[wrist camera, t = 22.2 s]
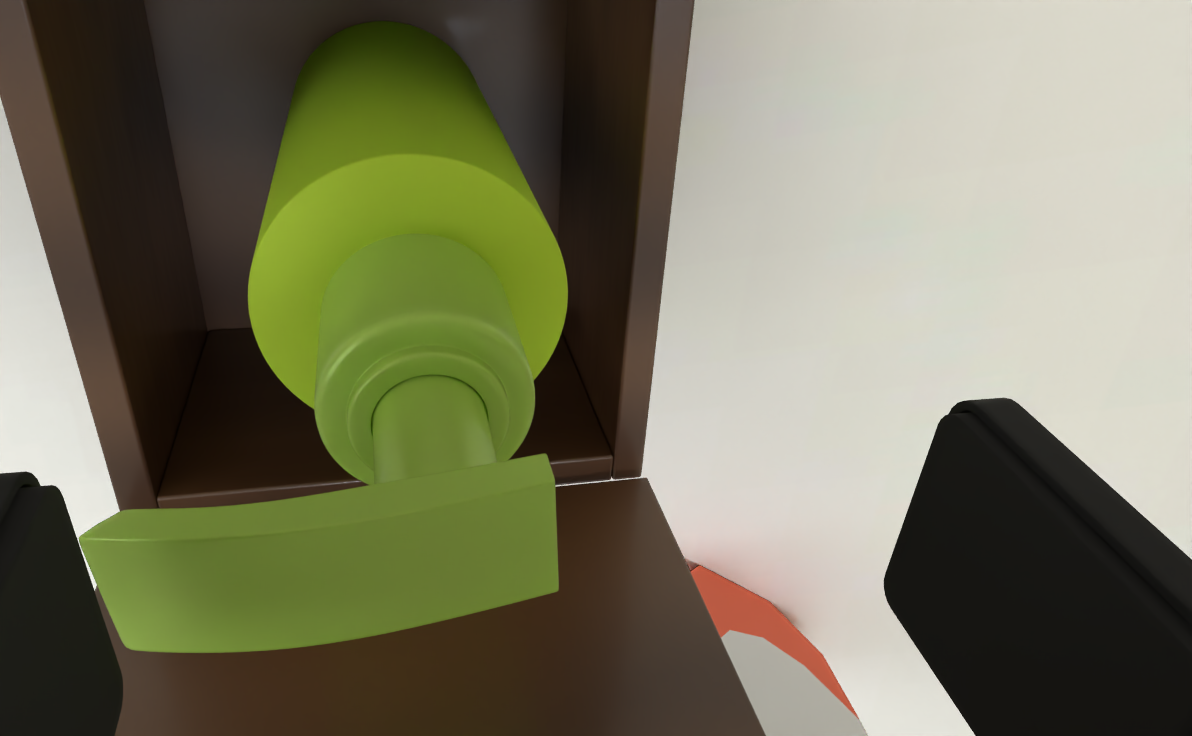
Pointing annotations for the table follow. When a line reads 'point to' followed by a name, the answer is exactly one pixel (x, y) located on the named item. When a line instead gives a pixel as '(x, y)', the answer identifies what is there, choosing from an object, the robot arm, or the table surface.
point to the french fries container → (776, 664)
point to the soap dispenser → (375, 376)
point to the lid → (485, 656)
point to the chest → (239, 195)
